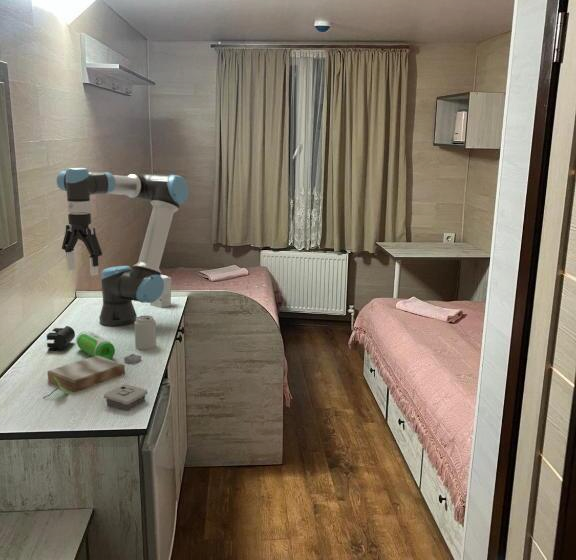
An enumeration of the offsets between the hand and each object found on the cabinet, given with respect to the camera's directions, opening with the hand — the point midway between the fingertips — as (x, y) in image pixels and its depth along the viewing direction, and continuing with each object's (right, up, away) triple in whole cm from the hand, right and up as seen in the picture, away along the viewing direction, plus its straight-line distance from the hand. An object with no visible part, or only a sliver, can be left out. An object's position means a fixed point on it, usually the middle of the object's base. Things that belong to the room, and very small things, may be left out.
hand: (82, 272), depth 222 cm
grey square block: (+20, -32, -7) cm, 38 cm away
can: (+21, -28, +8) cm, 36 cm away
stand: (+8, -34, -21) cm, 41 cm away
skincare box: (+15, -15, +62) cm, 66 cm away
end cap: (-10, -28, +8) cm, 31 cm away
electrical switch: (+22, -39, -38) cm, 59 cm away
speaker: (+5, -30, 0) cm, 30 cm away
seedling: (+1, -38, -37) cm, 53 cm away
